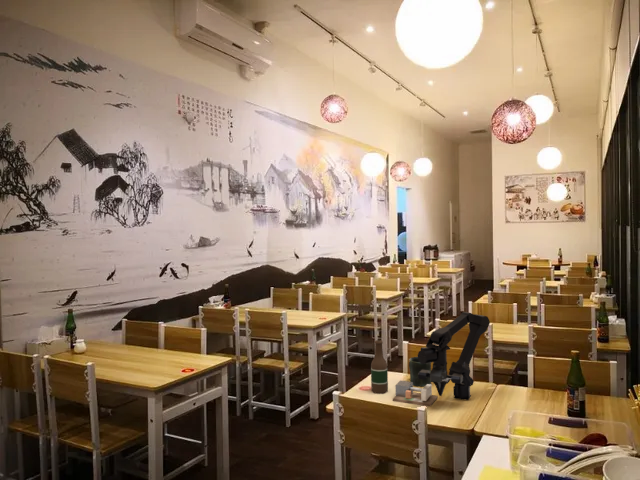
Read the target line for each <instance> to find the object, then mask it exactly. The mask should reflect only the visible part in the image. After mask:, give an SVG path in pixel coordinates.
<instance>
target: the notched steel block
mask: <svg viewBox="0 0 640 480" xmlns="http://www.w3.org/2000/svg"><path fill="white" fill-rule="evenodd" d="M410 387H414V385H413V382H410V381H406V380H399V381H398V382H397V383H396V384H395V396H400V397H406V391H407V390H409V391H410ZM413 392H414V391H411V394H413Z"/></svg>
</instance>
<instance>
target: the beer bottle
mask: <svg viewBox="0 0 640 480" xmlns="http://www.w3.org/2000/svg"><path fill="white" fill-rule="evenodd" d="M374 345H375V346H374V347H375V348H374V357H373V359H372V360H371V364H370V382H371V384H370V387H371V392H372V393H373V394H377V395H378V394H379V395H382V394H386V393H387V392H388V389H389V385H388V384H389V383H388V382H389V381H388V379H389V377H388V375H389V371H388V364H387V360H386V359H385V358H384V351H383V350H384V349H383V340H380V339H376V340H375V341H374Z"/></svg>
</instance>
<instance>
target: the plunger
mask: <svg viewBox="0 0 640 480" xmlns="http://www.w3.org/2000/svg"><path fill="white" fill-rule="evenodd" d="M432 385H433V384H432V383H431V384H427V385H426V386H424V387H416V386H415V387H414V386H413V387H410V391H413V392H416V393H421V400H422V401H426V400H427V399H428V398H429V397H430V396H431V395H433V394H432V393H433V391H432V390H433V388H432V387H433V386H432Z"/></svg>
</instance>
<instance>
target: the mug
mask: <svg viewBox="0 0 640 480" xmlns="http://www.w3.org/2000/svg"><path fill="white" fill-rule="evenodd" d="M408 361H409V362H408V369H409V382H413V387H414V386H415V387H420V388H424V387H425V386H426V385H427V384H431V385H432V382H431V379H430V377H426V378H425V379H418V373H419V372H420V371H421V370H429V371H430V373H431V370H432V363H426V364H421V363H420V362H419V360H418V356H413V357H410V358H409V359H408Z"/></svg>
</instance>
